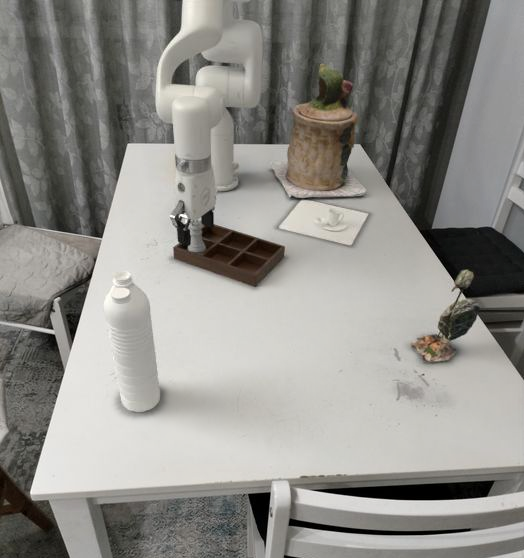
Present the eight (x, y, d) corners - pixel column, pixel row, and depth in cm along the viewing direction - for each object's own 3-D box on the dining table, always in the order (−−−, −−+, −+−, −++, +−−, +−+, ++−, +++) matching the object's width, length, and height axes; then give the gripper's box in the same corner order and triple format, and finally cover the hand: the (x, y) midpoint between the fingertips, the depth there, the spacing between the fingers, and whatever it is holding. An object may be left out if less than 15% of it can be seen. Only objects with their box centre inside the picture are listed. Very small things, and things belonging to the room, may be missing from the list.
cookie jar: (288, 200, 145) (300, 77, 124) (268, 168, 163) (275, 56, 142) (368, 196, 150) (391, 78, 129) (339, 165, 168) (356, 57, 147)
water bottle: (122, 386, 87) (99, 262, 71) (160, 383, 88) (146, 261, 72) (119, 425, 81) (93, 299, 64) (160, 421, 82) (145, 297, 65)
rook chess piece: (209, 250, 121) (208, 219, 116) (201, 259, 118) (200, 228, 113) (192, 246, 122) (191, 216, 117) (184, 255, 119) (182, 224, 114)
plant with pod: (473, 360, 97) (513, 273, 84) (419, 365, 95) (452, 277, 82) (454, 334, 103) (488, 248, 90) (403, 338, 101) (430, 251, 88)
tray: (207, 233, 129) (207, 222, 127) (284, 257, 122) (285, 246, 120) (173, 258, 119) (173, 247, 117) (255, 287, 112) (255, 275, 110)
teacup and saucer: (310, 227, 134) (312, 213, 131) (319, 215, 140) (321, 201, 137) (342, 235, 132) (344, 220, 129) (349, 222, 138) (352, 208, 135)
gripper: (184, 181, 98) (188, 256, 110) (229, 153, 110) (229, 223, 122) (153, 171, 101) (160, 246, 112) (200, 145, 112) (202, 215, 124)
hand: (196, 234), depth 117 cm, fingers open, 9 cm apart
